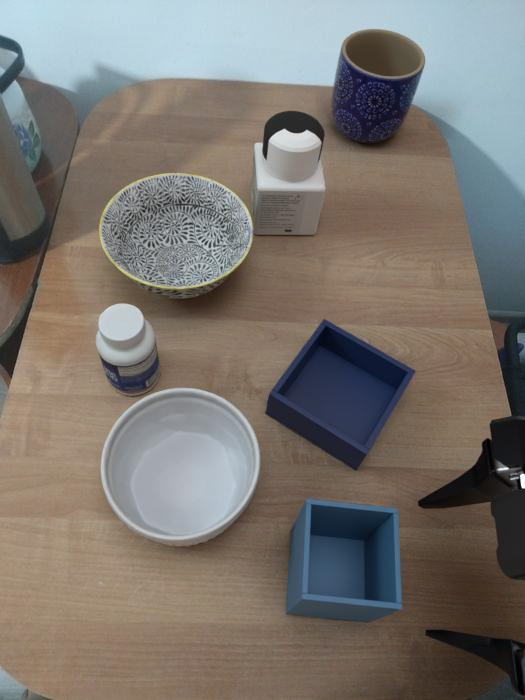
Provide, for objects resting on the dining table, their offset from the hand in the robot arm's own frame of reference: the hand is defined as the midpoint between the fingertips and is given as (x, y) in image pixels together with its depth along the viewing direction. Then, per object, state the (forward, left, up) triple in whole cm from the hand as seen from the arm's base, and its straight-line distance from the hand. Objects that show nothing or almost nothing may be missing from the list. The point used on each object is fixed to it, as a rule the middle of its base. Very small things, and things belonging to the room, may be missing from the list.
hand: (423, 565), depth 42 cm
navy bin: (+11, -14, -8) cm, 19 cm away
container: (+26, -36, -8) cm, 45 cm away
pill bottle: (+31, -8, -8) cm, 33 cm away
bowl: (+33, -22, -8) cm, 40 cm away
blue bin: (+6, +2, -8) cm, 10 cm away
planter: (+22, -57, -8) cm, 62 cm away
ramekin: (+21, 0, -8) cm, 22 cm away
